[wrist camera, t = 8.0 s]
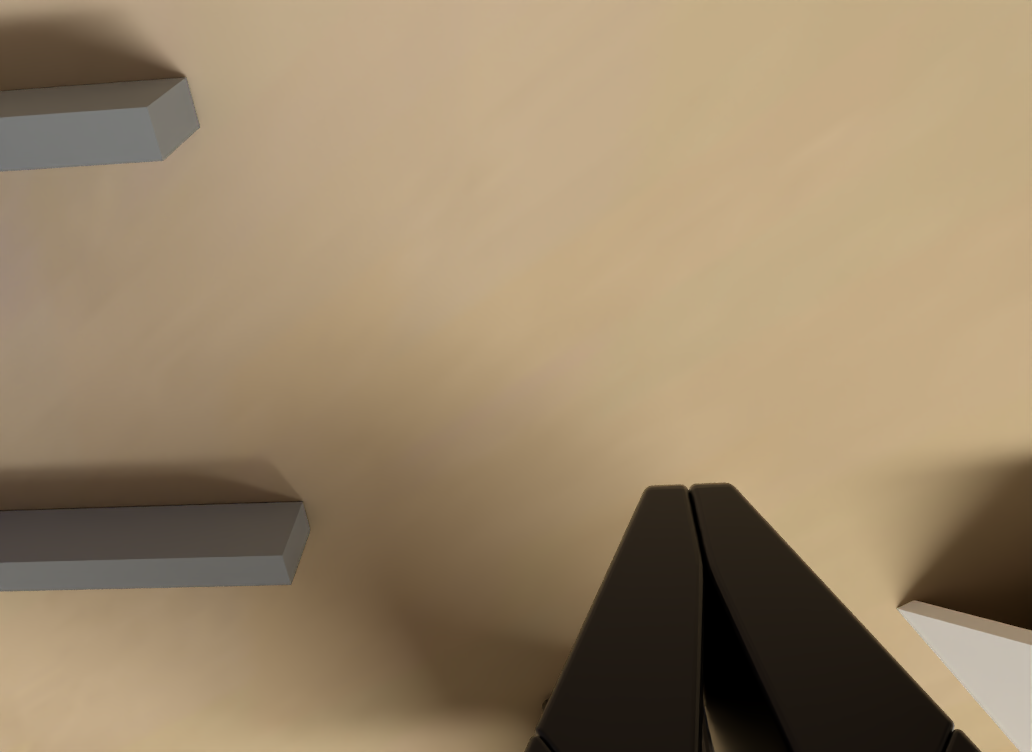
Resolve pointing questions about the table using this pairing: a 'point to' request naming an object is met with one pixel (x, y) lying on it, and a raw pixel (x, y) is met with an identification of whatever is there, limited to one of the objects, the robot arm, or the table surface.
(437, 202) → the table surface
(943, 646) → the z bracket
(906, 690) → the robot arm
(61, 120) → the guide rails
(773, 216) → the table surface
